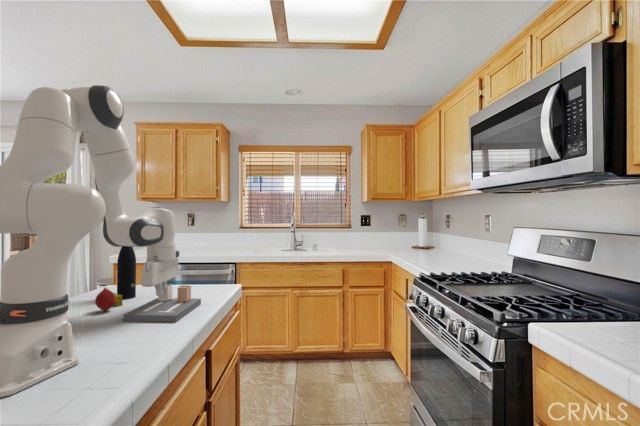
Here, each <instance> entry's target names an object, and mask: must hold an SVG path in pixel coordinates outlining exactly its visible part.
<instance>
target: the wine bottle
mask: <svg viewBox="0 0 640 426" xmlns="http://www.w3.org/2000/svg"><path fill="white" fill-rule="evenodd" d="M136 256H137V255H136V253H135V250H134V247H129V246H124V247H121V248H120V250H119V253H118V255H117V262H116V264H117V265H116V266H117V267H116V268H117V269H116V270H117V274H116V275H117V276H116V278H117V279H116V294H119V295H122V300H129V299H130V300H131V299H134V298H136V295H137V294H136V293H137V292H136V289H137V288H136V286H137V283H136V282H137V257H136Z"/></svg>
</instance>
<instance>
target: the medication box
mask: <svg viewBox="0 0 640 426" xmlns="http://www.w3.org/2000/svg"><path fill="white" fill-rule="evenodd" d="M111 292H112V293H113V294H114V295H115V297H116V301H115V304H114V305H113V306H112V307H114V308H116V307H123V299H122V295H119V294H117V292H114V291H111Z"/></svg>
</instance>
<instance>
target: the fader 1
mask: <svg viewBox="0 0 640 426" xmlns="http://www.w3.org/2000/svg"><path fill="white" fill-rule="evenodd" d="M157 298H158V301H168V300H170V299H172V298H173V284H167V285H166V288H165V294H163V295H161V296H157Z"/></svg>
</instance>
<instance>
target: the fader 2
mask: <svg viewBox="0 0 640 426" xmlns="http://www.w3.org/2000/svg"><path fill="white" fill-rule="evenodd" d="M176 298H177V302H187V301H189V300H190V299H192V285H188V284H187V285H179V286H178V287H177V297H176Z"/></svg>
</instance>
